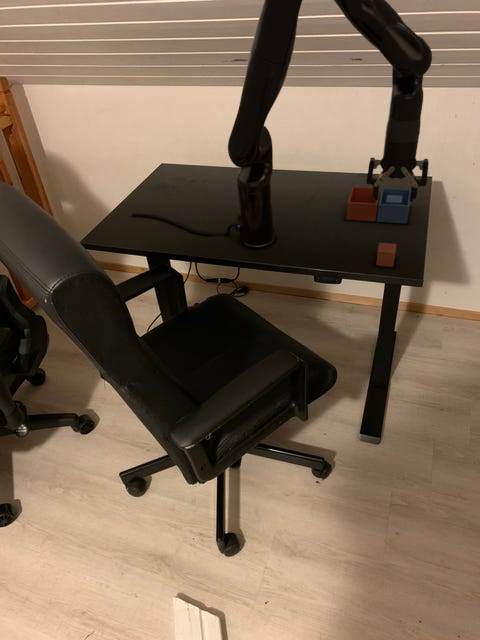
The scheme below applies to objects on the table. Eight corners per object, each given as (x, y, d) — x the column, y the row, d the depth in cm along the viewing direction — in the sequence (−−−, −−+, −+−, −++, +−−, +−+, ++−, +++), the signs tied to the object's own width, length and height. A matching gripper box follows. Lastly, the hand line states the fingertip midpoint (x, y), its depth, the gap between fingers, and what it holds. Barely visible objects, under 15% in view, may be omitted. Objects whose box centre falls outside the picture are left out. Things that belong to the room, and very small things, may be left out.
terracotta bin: (346, 219, 143) (347, 202, 139) (351, 202, 150) (352, 186, 147) (375, 221, 140) (377, 204, 136) (379, 204, 148) (380, 187, 144)
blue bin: (376, 221, 140) (378, 204, 136) (380, 204, 148) (381, 187, 144) (406, 223, 137) (409, 206, 134) (409, 205, 145) (411, 189, 142)
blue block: (384, 214, 141) (386, 201, 138) (385, 208, 144) (387, 194, 142) (399, 215, 140) (401, 202, 137) (400, 208, 143) (402, 195, 140)
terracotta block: (376, 265, 123) (377, 251, 120) (377, 256, 126) (379, 242, 123) (393, 267, 122) (395, 253, 119) (394, 257, 125) (396, 243, 122)
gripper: (369, 141, 108) (363, 205, 119) (434, 142, 104) (423, 207, 115) (371, 129, 113) (366, 191, 124) (434, 130, 110) (423, 194, 120)
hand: (393, 199), depth 119 cm, fingers open, 8 cm apart
